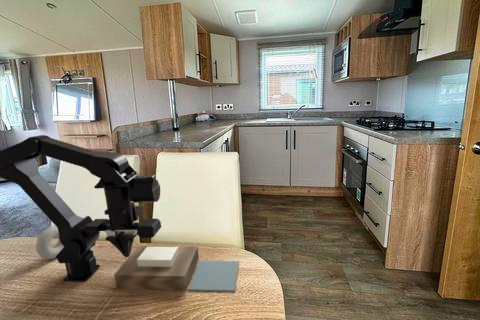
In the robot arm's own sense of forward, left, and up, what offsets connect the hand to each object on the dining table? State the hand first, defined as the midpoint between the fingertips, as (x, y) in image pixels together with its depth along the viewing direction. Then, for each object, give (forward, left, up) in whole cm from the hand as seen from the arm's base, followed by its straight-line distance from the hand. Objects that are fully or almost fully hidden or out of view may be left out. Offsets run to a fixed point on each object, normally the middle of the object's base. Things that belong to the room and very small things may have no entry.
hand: (127, 256), depth 70 cm
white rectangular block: (+9, 0, -1) cm, 9 cm away
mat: (+24, -1, -5) cm, 25 cm away
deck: (+9, 0, -5) cm, 10 cm away
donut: (-27, +7, -5) cm, 29 cm away
